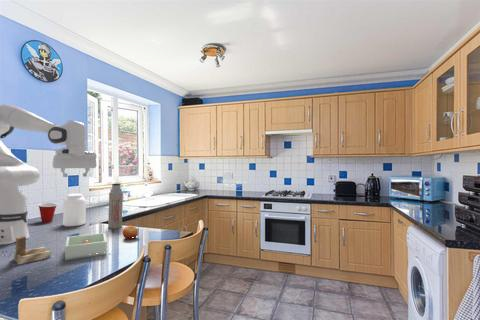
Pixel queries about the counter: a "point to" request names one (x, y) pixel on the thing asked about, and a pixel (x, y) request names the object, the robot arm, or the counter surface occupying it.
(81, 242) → the bin
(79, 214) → the white jar
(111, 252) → the counter surface
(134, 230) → the fruit
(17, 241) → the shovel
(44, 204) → the plastic cup
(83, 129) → the robot arm
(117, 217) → the thermos bottle
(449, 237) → the counter surface
